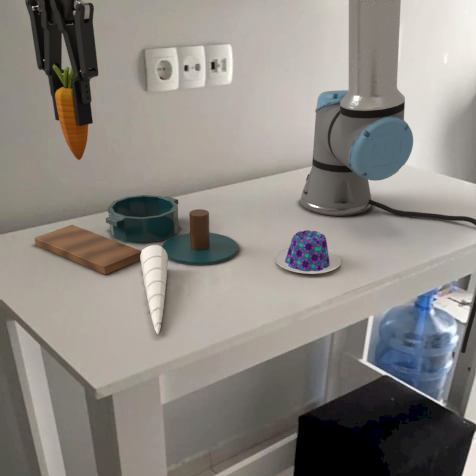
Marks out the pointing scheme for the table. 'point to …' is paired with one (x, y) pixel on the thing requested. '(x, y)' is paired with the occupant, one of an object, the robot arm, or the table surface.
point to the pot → (143, 218)
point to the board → (88, 249)
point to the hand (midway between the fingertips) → (74, 121)
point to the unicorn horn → (155, 280)
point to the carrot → (70, 115)
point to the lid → (200, 243)
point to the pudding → (308, 254)
